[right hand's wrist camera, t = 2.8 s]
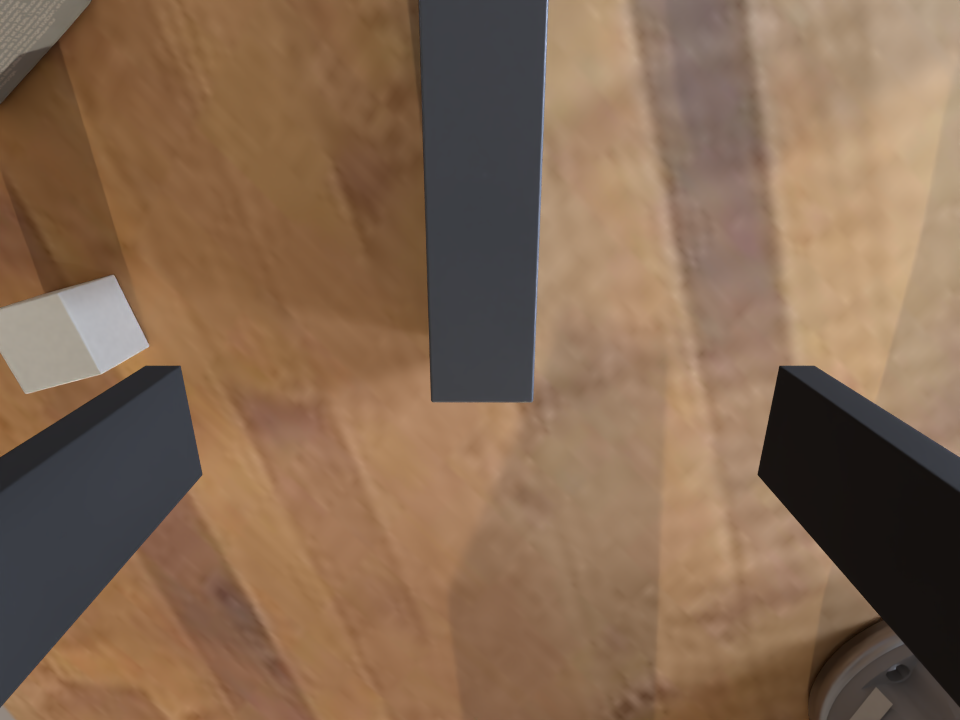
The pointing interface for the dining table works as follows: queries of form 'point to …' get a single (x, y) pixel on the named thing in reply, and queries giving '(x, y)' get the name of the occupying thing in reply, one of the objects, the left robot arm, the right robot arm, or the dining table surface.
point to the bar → (482, 192)
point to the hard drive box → (31, 34)
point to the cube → (69, 334)
